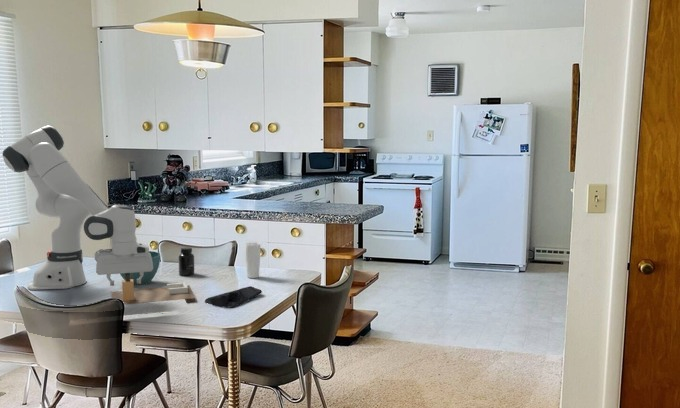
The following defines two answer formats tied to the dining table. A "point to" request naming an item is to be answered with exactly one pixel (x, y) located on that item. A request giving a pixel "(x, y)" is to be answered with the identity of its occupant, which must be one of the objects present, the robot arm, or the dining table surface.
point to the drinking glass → (252, 259)
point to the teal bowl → (147, 275)
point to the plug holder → (177, 288)
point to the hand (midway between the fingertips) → (125, 284)
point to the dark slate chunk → (234, 297)
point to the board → (155, 295)
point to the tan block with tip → (128, 288)
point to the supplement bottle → (186, 262)
